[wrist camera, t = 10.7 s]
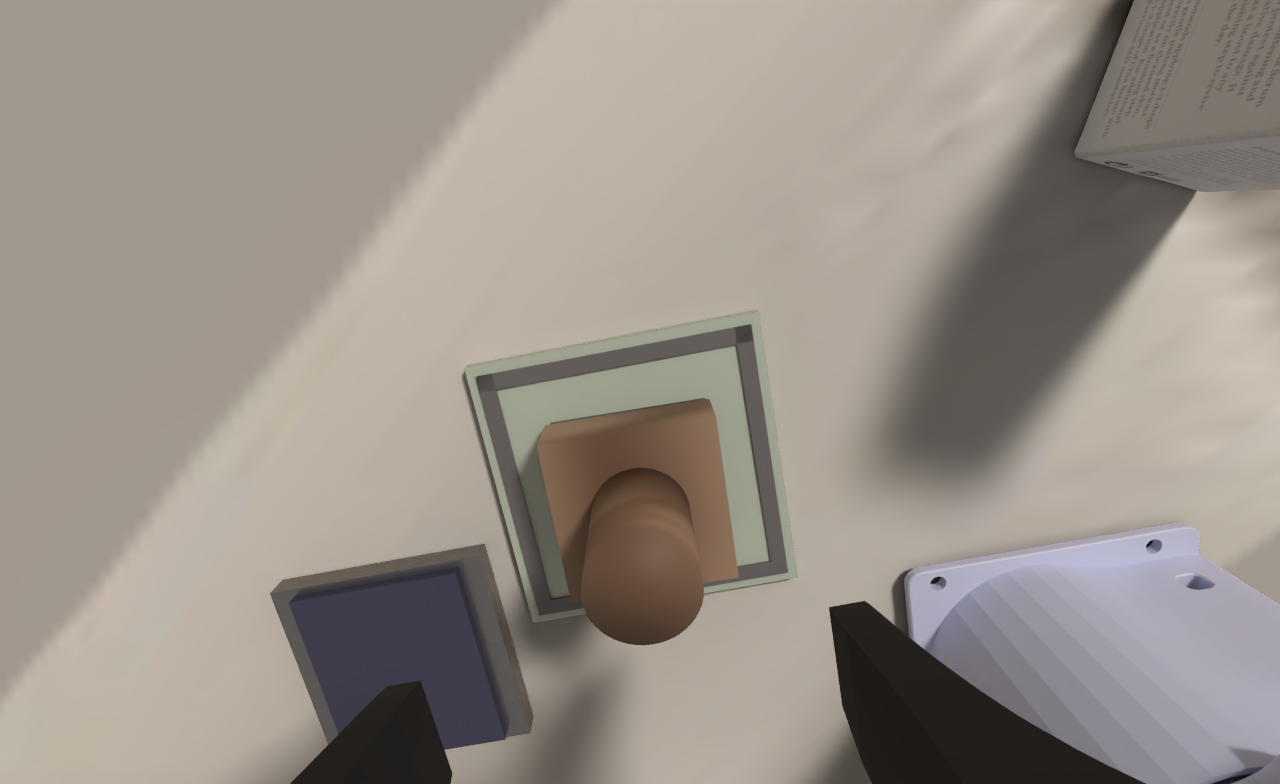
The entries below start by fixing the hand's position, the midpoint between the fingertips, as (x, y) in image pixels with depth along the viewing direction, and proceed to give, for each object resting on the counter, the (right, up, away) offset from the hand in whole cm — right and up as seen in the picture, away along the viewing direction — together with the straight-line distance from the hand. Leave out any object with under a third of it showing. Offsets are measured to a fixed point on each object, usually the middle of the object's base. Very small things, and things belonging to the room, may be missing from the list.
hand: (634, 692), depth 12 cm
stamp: (0, +2, +10) cm, 10 cm away
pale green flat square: (0, +3, +10) cm, 10 cm away
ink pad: (-8, -4, +12) cm, 15 cm away
